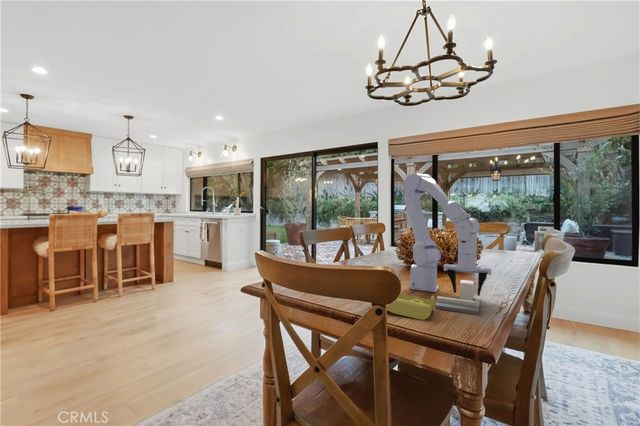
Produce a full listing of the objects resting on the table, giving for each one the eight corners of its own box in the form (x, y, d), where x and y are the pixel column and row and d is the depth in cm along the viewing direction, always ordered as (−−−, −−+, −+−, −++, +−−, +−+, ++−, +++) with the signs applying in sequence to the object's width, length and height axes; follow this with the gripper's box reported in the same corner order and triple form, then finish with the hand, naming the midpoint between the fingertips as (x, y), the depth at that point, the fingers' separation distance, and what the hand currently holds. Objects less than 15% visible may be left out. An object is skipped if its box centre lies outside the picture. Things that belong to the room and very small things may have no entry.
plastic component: (435, 301, 95) (433, 294, 87) (432, 325, 93) (429, 321, 84) (373, 288, 104) (365, 281, 96) (368, 310, 102) (360, 305, 93)
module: (459, 299, 105) (459, 282, 104) (460, 295, 109) (460, 279, 109) (472, 301, 103) (473, 284, 103) (473, 297, 107) (473, 281, 107)
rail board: (435, 308, 95) (435, 301, 95) (439, 299, 104) (439, 293, 104) (479, 314, 90) (479, 307, 90) (479, 304, 99) (479, 298, 99)
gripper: (442, 253, 105) (442, 293, 106) (491, 257, 99) (491, 299, 99) (445, 251, 112) (444, 288, 112) (491, 254, 105) (490, 294, 105)
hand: (466, 293), depth 106 cm, fingers open, 7 cm apart
